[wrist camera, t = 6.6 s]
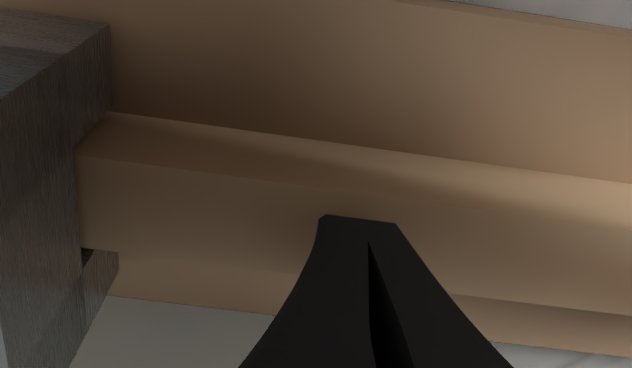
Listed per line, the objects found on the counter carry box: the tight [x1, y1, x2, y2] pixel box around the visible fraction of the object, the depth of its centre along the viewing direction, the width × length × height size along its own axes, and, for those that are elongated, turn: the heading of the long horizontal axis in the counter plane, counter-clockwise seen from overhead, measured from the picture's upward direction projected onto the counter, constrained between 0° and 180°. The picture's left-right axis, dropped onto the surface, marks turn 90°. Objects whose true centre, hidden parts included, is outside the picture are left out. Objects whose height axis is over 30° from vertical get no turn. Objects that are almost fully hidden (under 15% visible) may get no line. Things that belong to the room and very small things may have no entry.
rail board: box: [0, 0, 632, 358], centre depth 11 cm, size 8×20×5 cm, turn 82°
